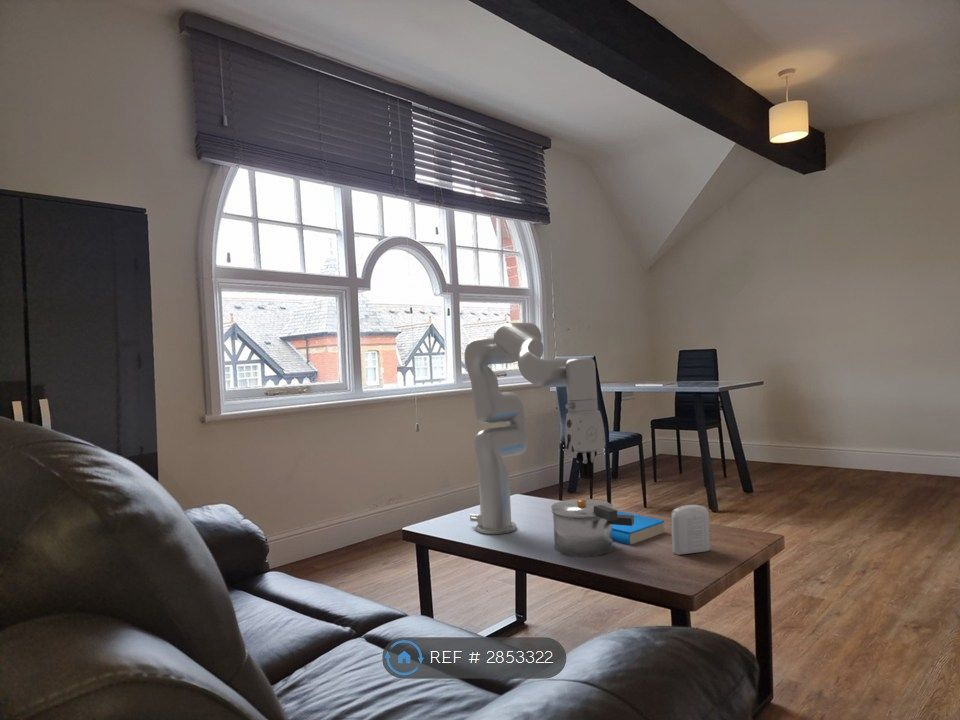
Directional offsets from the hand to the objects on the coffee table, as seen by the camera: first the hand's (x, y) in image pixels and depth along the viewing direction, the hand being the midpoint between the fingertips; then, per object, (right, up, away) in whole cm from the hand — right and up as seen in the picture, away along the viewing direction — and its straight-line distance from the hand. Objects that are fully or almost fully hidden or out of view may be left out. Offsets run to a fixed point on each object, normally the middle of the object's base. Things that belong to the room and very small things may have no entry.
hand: (586, 478), depth 163 cm
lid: (+2, -12, +12) cm, 17 cm away
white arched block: (+29, -21, +7) cm, 36 cm away
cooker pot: (+4, -22, +13) cm, 26 cm away
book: (+13, -22, +30) cm, 39 cm away
